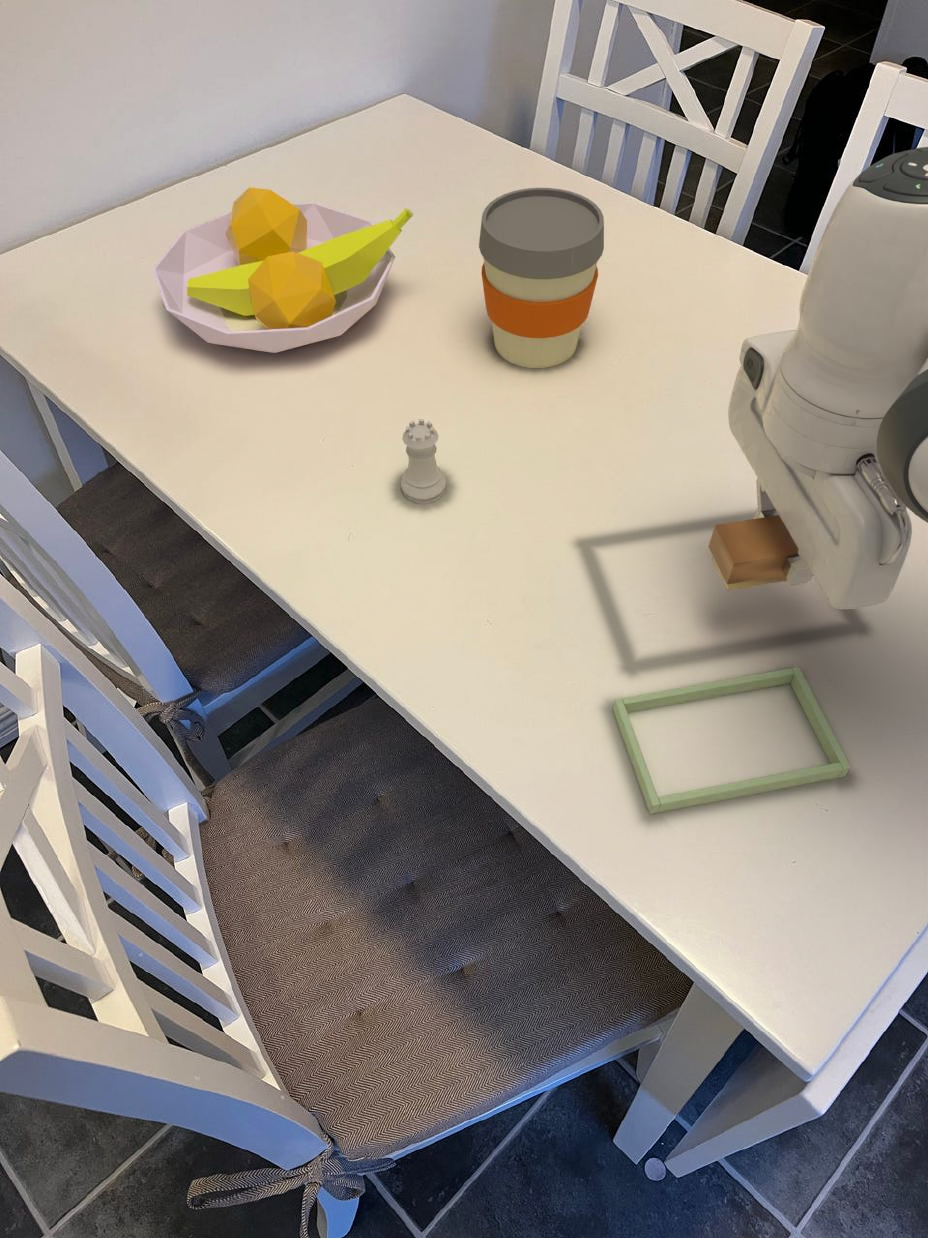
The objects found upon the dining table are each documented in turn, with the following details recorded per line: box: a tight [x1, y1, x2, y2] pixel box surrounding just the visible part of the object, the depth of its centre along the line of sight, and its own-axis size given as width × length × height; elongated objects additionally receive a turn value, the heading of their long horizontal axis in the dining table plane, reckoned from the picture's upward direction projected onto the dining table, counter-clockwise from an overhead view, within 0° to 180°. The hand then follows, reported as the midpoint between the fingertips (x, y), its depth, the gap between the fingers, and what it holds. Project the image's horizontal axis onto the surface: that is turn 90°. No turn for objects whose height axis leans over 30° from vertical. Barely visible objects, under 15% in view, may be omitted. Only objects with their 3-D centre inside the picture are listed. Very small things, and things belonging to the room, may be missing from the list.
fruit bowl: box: [151, 186, 414, 354], centre depth 101 cm, size 28×27×11 cm
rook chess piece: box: [400, 418, 447, 505], centre depth 84 cm, size 4×4×8 cm
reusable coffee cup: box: [478, 187, 605, 369], centre depth 95 cm, size 13×12×15 cm
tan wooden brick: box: [708, 515, 814, 591], centre depth 70 cm, size 10×4×4 cm, turn 101°
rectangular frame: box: [612, 666, 852, 815], centre depth 69 cm, size 15×9×2 cm, turn 101°
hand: (780, 550), depth 70 cm, fingers closed on tan wooden brick, 4 cm apart
